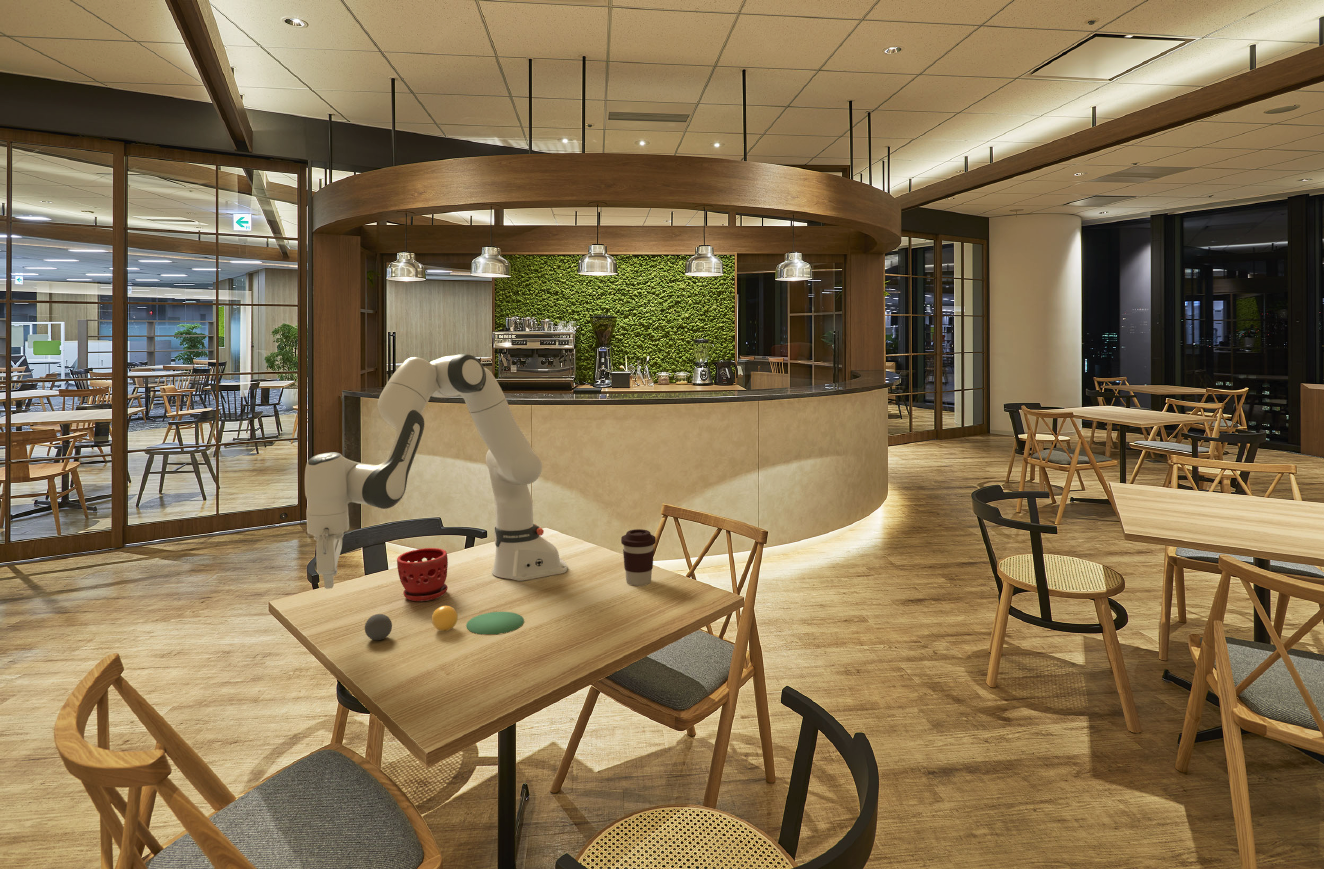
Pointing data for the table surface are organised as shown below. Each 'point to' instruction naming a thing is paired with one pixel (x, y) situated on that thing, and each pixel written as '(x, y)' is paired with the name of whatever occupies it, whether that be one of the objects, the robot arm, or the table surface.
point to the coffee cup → (638, 556)
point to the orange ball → (444, 618)
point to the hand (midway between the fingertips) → (331, 581)
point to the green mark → (495, 623)
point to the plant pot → (423, 573)
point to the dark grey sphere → (378, 627)
